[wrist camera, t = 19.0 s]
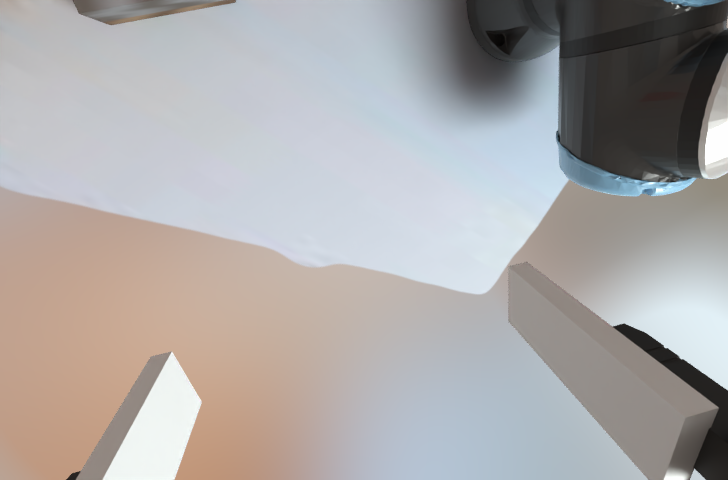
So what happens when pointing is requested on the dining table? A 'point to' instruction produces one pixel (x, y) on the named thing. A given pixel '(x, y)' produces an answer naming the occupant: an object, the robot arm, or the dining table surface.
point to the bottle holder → (139, 8)
